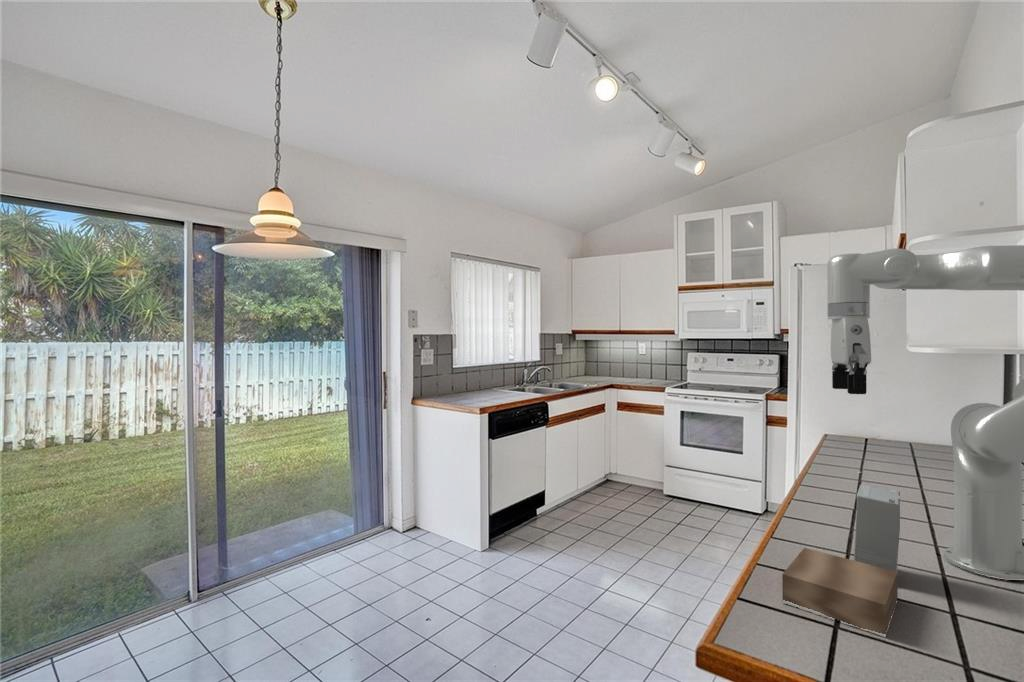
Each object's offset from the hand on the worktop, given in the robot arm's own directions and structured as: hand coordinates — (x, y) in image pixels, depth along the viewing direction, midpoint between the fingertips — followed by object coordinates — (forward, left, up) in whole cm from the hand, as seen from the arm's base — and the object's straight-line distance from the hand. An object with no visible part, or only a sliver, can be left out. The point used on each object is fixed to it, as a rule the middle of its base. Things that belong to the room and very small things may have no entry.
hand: (848, 391), depth 106 cm
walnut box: (-4, +28, -33) cm, 44 cm away
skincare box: (-7, +12, -33) cm, 36 cm away
